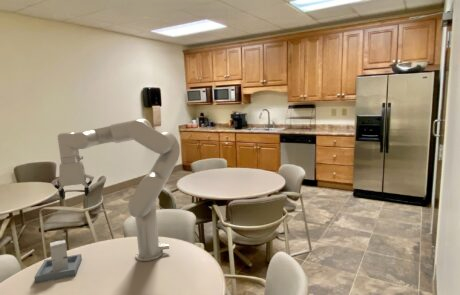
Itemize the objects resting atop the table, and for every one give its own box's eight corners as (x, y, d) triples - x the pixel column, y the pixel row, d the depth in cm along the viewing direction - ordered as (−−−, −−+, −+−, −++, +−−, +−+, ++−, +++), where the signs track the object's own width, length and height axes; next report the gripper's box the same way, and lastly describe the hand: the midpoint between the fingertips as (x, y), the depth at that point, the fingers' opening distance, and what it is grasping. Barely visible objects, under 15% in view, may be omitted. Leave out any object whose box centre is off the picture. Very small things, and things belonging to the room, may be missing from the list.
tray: (81, 259, 140) (81, 253, 140) (75, 276, 127) (74, 269, 126) (45, 266, 136) (44, 260, 135) (35, 283, 123) (34, 276, 122)
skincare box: (53, 273, 128) (49, 246, 126) (52, 268, 132) (48, 242, 130) (69, 268, 131) (65, 242, 129) (68, 264, 135) (65, 238, 133)
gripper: (92, 156, 140) (96, 192, 142) (51, 160, 135) (56, 197, 138) (90, 159, 133) (94, 196, 135) (46, 163, 128) (51, 202, 131)
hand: (75, 196), depth 137 cm, fingers open, 9 cm apart
